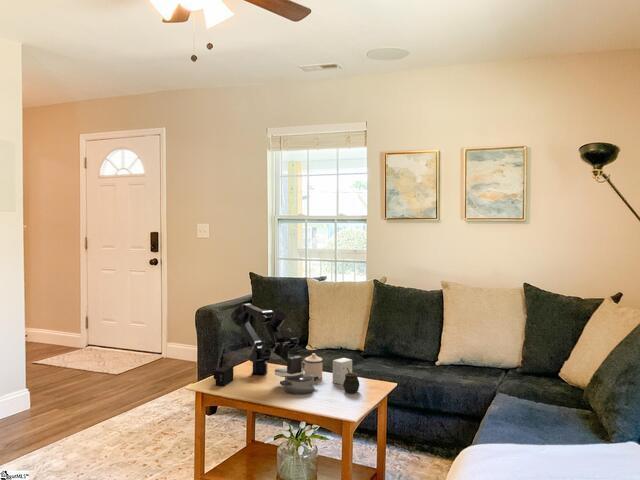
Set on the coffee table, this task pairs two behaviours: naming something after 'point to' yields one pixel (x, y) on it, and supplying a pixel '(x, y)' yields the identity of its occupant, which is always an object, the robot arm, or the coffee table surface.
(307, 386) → the pot
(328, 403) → the coffee table surface
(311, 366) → the teacup with lid
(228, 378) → the digital camera
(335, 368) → the small box
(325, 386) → the coffee table surface
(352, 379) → the mate gourd
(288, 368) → the lid
